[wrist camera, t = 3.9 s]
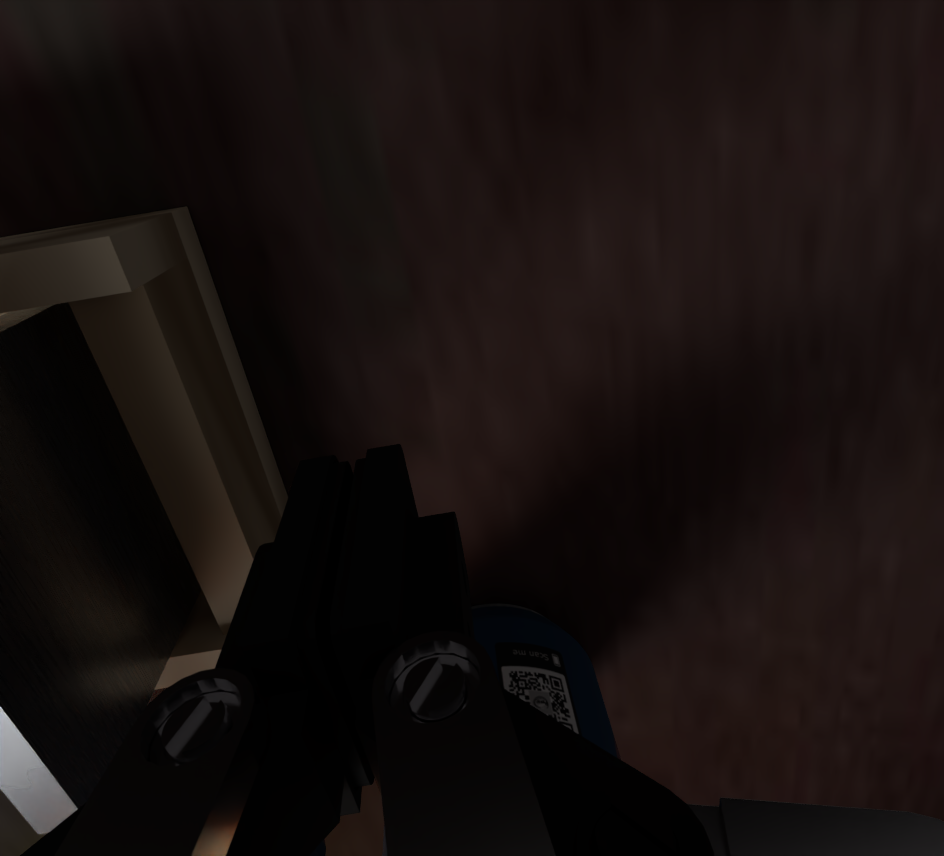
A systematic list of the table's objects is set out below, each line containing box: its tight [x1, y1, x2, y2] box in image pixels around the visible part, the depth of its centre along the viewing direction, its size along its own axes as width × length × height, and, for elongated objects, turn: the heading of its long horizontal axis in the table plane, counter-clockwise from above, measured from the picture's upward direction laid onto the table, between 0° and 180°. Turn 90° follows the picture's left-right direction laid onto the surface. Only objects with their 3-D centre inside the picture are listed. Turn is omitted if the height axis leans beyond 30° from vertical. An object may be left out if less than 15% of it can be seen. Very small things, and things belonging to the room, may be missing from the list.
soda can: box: [383, 603, 621, 856], centre depth 17 cm, size 7×7×12 cm
